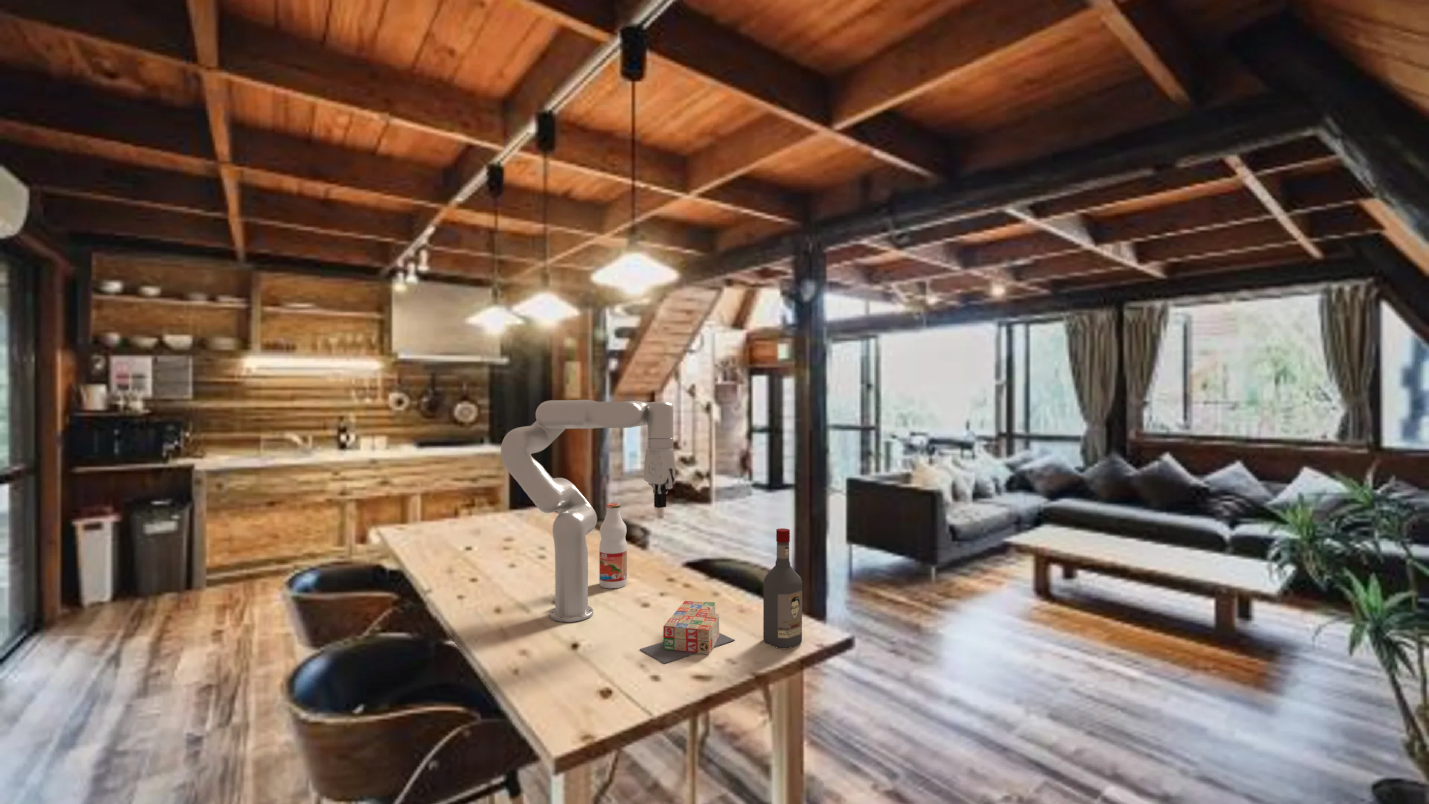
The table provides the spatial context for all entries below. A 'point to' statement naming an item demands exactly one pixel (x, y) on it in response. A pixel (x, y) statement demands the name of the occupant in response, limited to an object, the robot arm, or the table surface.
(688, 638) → the stack of blocks
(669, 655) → the mat
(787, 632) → the liquor
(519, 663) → the table surface
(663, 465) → the robot arm
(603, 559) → the fruit juice
